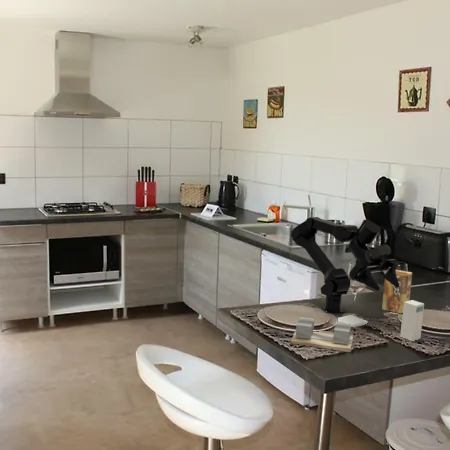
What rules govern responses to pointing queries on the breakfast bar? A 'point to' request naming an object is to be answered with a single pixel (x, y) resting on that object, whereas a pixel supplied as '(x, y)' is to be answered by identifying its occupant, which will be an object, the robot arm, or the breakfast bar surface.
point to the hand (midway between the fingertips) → (388, 288)
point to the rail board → (323, 336)
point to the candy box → (397, 292)
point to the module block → (412, 320)
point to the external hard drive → (352, 320)
